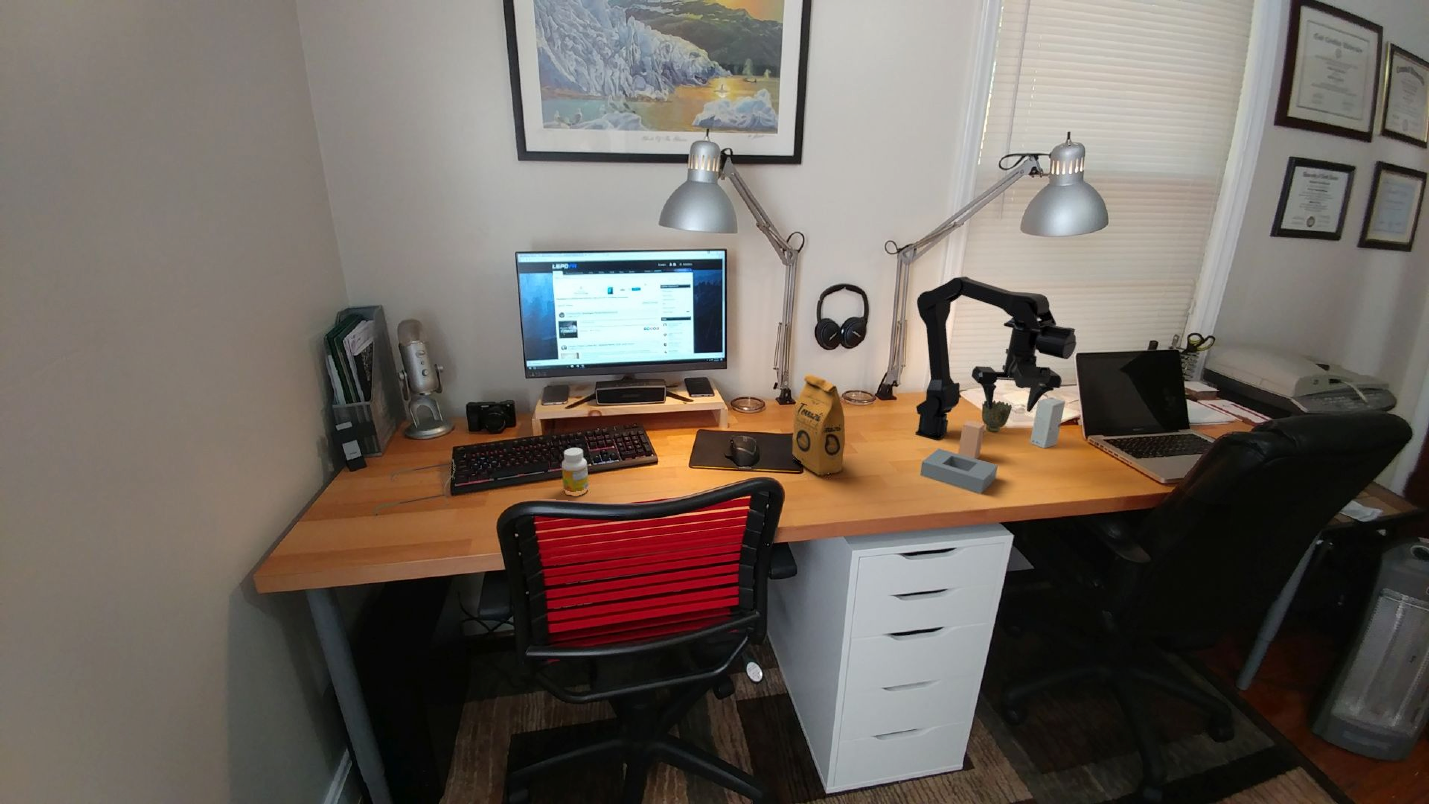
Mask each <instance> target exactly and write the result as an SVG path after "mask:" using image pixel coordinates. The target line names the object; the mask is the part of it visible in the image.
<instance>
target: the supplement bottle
mask: <svg viewBox="0 0 1429 804" xmlns="http://www.w3.org/2000/svg"><path fill="white" fill-rule="evenodd" d="M563 455H564V459H563V460H562V462H561V472H562V484H563V490H564V489H565V490H567V491H570V492H576V491H582V490H584V489H587V487H588V485H589V474H588V462H587V460H586V459H585V458H584V450H583V449H582V448H579V447H570V448H568V449H565V450H564V451H563Z"/></svg>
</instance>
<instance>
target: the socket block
mask: <svg viewBox="0 0 1429 804" xmlns="http://www.w3.org/2000/svg"><path fill="white" fill-rule="evenodd" d="M998 468H999V465H998V464H996V463H995V464H994V463H991V462H989V461H988V462H987V461H984V460H982V459H978V458H977V459H974V458H971V457H967V456H964V455H960V454H958V453H957V452H952V451H949V450H946V449H942V448H937V449H936V450H934V452H932V453H931V454H930V455H929V456H927V457H926V458H924V459H923V460H922V462H921V466H920V474H919V475H920V476H921V477H922V476H923V477H925V478H928V479H932V480H935V481H938V482H941V481H942V483H945V484H949V485H951V484H952V485H951V486H954V487H958V488H960V487H961V488H960V489H964V490H966V489H968V490H967V491H970V492H974V493H976V492H977V494H979V495H982V494H983V493H984V492H985V491H986V490H987V488H988V487H989V486H991V484H992V483H993V482H994V481H995V480H996V477H997V472H998ZM982 492H983V493H982Z"/></svg>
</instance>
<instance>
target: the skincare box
mask: <svg viewBox="0 0 1429 804" xmlns="http://www.w3.org/2000/svg"><path fill="white" fill-rule="evenodd" d="M1036 404H1037V405H1036V410H1035V416H1034V419H1033V420H1034V421H1033V424H1032V425H1033V426H1032V431H1031V437H1030V442H1029V443H1030V444H1032V445H1034V446H1037V447H1039V448H1042V449H1047V448H1050V447H1053V446H1055V445H1057V443H1058V439H1059V435H1060V429H1061V424H1062V420H1063V415H1064V414H1063V413H1064V410H1065V409H1064V408H1065V404H1066V401H1065V400H1061V399H1058V398H1054V397H1048V398H1043V399H1039V400H1038V401H1037V403H1036Z"/></svg>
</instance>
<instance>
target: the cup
mask: <svg viewBox="0 0 1429 804" xmlns="http://www.w3.org/2000/svg"><path fill="white" fill-rule="evenodd" d="M981 407H982V409H981V410H982V411H981V416H982V417H981V419H982V422H983V423H984V424H985V429H986V431H988V432H989V433H999V432H1000V430H1001V428H1002V427H1004V426H1005V425H1007V424H1006V423H1007V422H1008V420H1009V417H1010V415H1011V411H1012V409H1013V406H1012V404H1009V403H1008V402H1006V403H1005V402H1004V401H1002V402H1001V400H998V401H997V402H996V399H995V400H994V399H993V403H992V407H991V410H989V409H988V407H987V402H986V400H984V401H983V402H982V406H981Z"/></svg>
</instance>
